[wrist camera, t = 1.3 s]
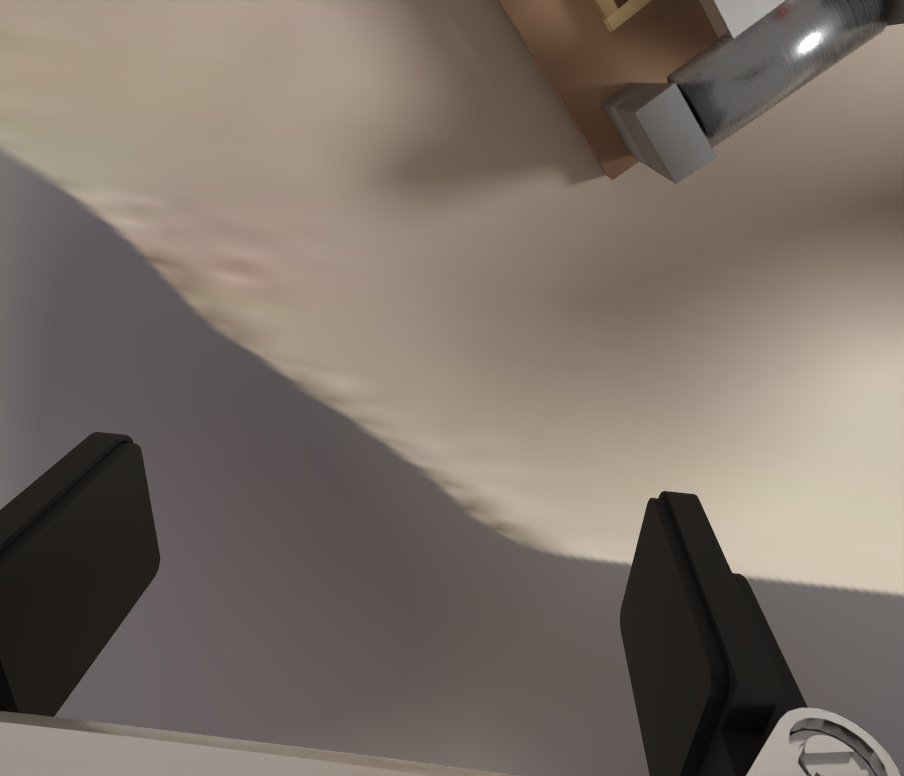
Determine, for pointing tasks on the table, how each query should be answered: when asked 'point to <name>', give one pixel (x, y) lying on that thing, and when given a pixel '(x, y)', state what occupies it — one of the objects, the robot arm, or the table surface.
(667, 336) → the table surface
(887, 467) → the table surface
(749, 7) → the lever
